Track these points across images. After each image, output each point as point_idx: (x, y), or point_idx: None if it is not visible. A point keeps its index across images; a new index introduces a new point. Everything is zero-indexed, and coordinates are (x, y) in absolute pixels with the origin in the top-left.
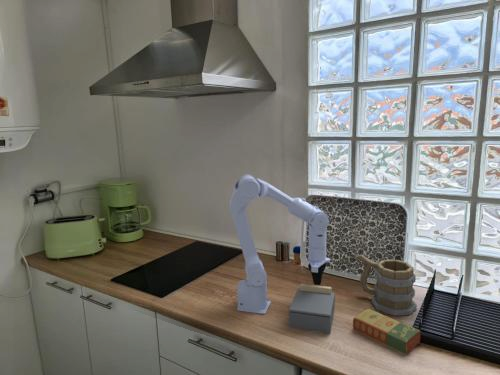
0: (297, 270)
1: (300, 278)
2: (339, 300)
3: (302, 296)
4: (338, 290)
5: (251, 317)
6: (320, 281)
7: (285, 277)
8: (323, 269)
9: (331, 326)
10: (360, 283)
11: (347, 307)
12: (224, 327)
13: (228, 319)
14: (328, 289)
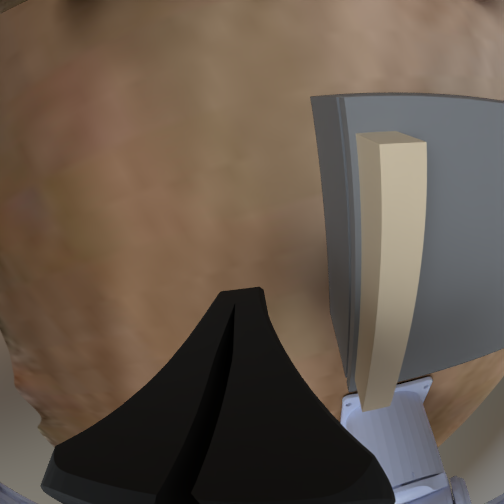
0: (37, 370)
1: (73, 356)
2: (165, 99)
3: (459, 333)
4: (51, 157)
5: (444, 389)
6: (266, 312)
7: (109, 398)
8: (385, 478)
9: (493, 99)
10: (3, 9)
11: (242, 23)
12: (480, 401)
13: (449, 415)
14: (421, 173)
